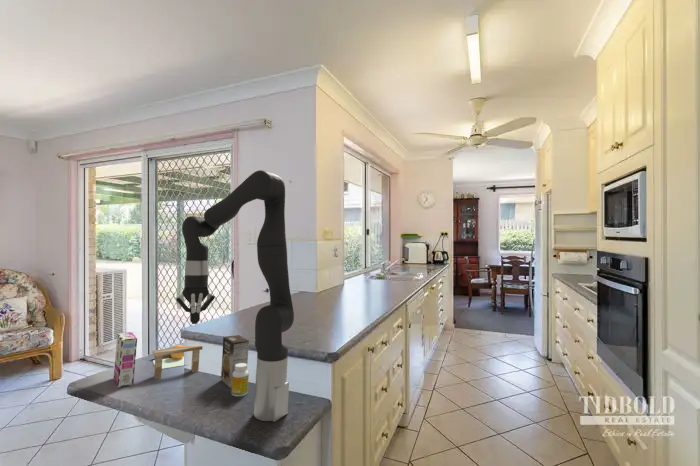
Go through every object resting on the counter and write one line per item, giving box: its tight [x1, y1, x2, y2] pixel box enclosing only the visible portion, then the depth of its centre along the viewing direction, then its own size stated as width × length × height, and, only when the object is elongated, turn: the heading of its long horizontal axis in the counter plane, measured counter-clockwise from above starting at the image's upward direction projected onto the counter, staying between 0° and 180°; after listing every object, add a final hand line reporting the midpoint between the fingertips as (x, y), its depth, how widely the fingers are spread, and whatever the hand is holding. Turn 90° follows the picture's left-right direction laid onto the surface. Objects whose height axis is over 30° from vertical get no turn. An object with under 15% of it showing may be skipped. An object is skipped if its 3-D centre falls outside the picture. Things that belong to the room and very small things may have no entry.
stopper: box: [154, 354, 172, 360], centre depth 147 cm, size 2×10×2 cm, turn 127°
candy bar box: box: [113, 332, 138, 389], centre depth 121 cm, size 11×5×16 cm, turn 42°
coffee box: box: [220, 334, 250, 389], centre depth 124 cm, size 9×6×16 cm
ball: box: [171, 344, 185, 359], centre depth 146 cm, size 6×6×6 cm
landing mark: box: [152, 355, 185, 370], centre depth 140 cm, size 12×12×1 cm
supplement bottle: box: [230, 363, 250, 397], centre depth 115 cm, size 5×5×10 cm
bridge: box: [152, 344, 203, 380], centre depth 129 cm, size 3×17×10 cm, turn 127°
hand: (194, 323), depth 116 cm, fingers closed
